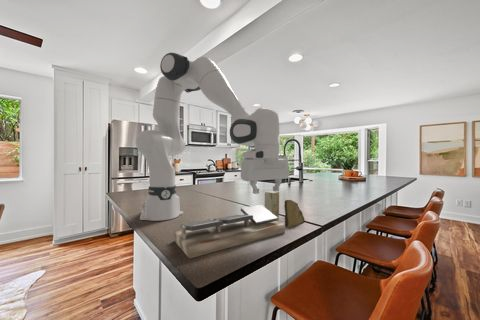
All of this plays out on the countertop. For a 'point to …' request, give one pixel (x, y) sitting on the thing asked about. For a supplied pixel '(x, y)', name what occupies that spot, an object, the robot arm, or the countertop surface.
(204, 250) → the switch panel
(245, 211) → the rocker
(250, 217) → the panel
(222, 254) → the countertop surface
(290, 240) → the countertop surface
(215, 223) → the panel
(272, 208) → the skincare box
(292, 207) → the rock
